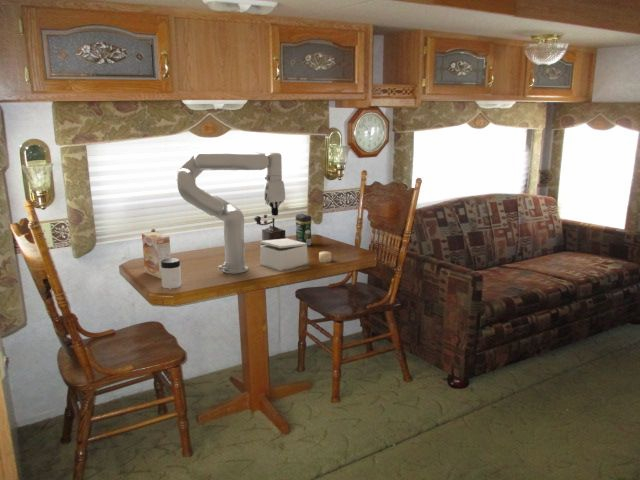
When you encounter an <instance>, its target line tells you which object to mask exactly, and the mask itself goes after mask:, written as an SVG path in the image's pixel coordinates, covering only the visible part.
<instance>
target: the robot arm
mask: <svg viewBox="0 0 640 480" xmlns="http://www.w3.org/2000/svg"><path fill="white" fill-rule="evenodd" d="M282 169H283V167H282V154H281V153H279V152H268V153H265V152H253V153H238V152H231V151H204V150H202V151H198V152H196V153H194V154H193V156H191V157H190V158H189V159H188V160H187V161H186V162H184V164H183V165H182V166H181V167H180V168H179V169H177V171H176V174H175V179H176V180H175V181H176V182H177V189H178V193H179V195H180V196H181V198H182V199H183V200H185V201H186V202H187V203H188V204H191V205H192V206H194V207H195V208H196V209H199V210H201V211H203V212H204V213H206V215H209V216H211V217H215V218H216V219H219V220H220V221H223V240H224V242H223V243H224V262H223V264H222V265H217V266H216V269H217V270H218V271H219V270H222V272H223V273H226V274H229V275H230V274H231V275H232V274H237V275H238V274H243V273H246V272H247V271H249V267H248V266H247V265H246V262H245V261H246V259H245V257H246V256H245V236H244V235H245V234H244V233H245V232H244V229H245V216H244V214H243V212H242V211H241V209H239V208H238V207H237V206H235V205H234V204H232V203H231V202H229V201H227V200H225V199H223V198H221V197H219V196H218V195H215V194H210V193H209V192H207V191H205V189H204V190H203V189H201V188H200V187H198V186H197V183H196V181H197V180H196V178H198V177H199V175H201V173H203V171H262V170H265V171H266V176H265V177H264V179H265V180H266V181H265V184H264V195H263V197H264V201H265V205H268V206H270V208H271V215H272V216H274V217H275V216H276V217H277V216H278V215H279V208H280V205H281V204H283V203H284V201H285V200H286V188H285V182H284V180H283V179H282V178H283V177H282V176H283V174H282V173H283V172H282Z"/></svg>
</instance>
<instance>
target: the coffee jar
mask: <svg viewBox="0 0 640 480" xmlns="http://www.w3.org/2000/svg"><path fill="white" fill-rule="evenodd" d="M311 226H312V216H310V215H308V214H304V213H299V214H298V213H297V214H296V215H295V228H296V229H295V240H296V241H301V242H305V243H308V245H307V247H310V246H311V245H312V227H311Z"/></svg>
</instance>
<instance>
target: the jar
mask: <svg viewBox="0 0 640 480" xmlns="http://www.w3.org/2000/svg"><path fill="white" fill-rule="evenodd" d="M181 272H182V268H181V261H180V258H174V257H171V258H169V259H164V260H162V261H161V277H162V278H161V287H163V289H167V288H169V289H168V290H172V288H173V289H178V288H181V286H182V273H181Z"/></svg>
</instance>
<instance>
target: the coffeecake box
mask: <svg viewBox="0 0 640 480" xmlns="http://www.w3.org/2000/svg"><path fill="white" fill-rule="evenodd" d="M170 239H171V237H170V236H169V235H165V234H162V233H159V232H156V231H152V232H145V233H144V232H143V233H142V234H141V241H142V242H141V243H142V252H143V264H144V273H146V274H147V275H148V274H149V275H151V276H153V277H156V278H157V279H162V277H161V261H162V260H164V259H169V258H172V254H171V253H172V252H171V243H170V242H171V240H170Z"/></svg>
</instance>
